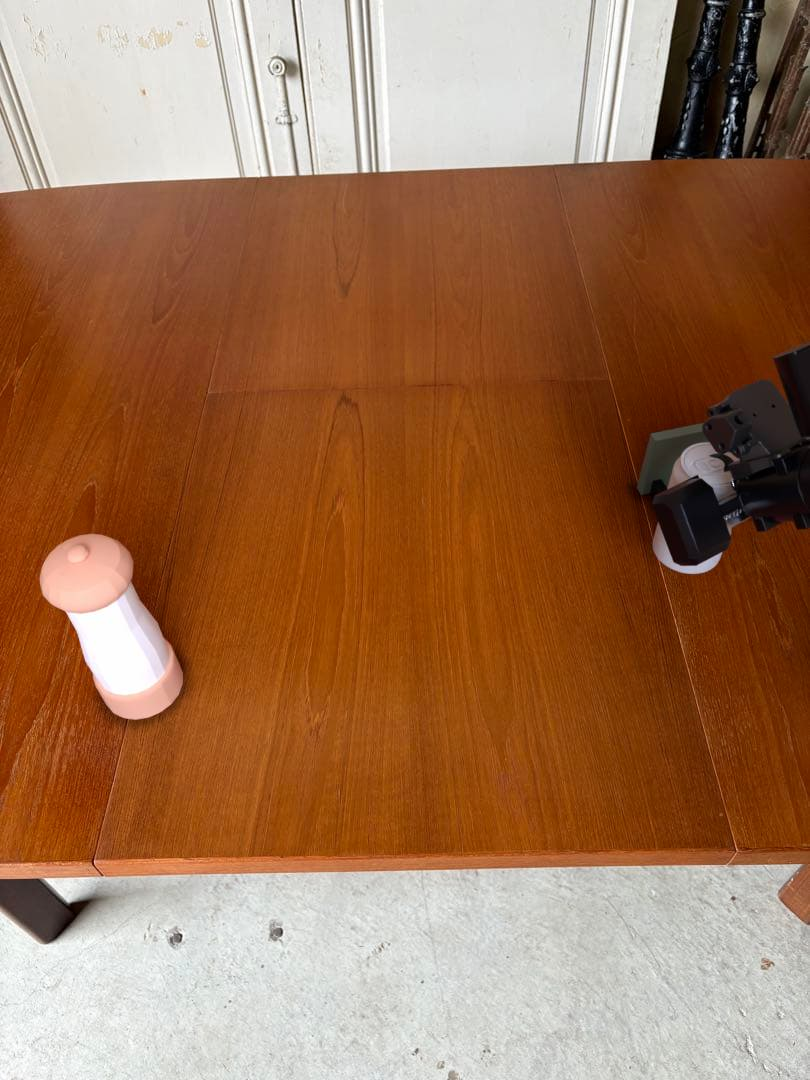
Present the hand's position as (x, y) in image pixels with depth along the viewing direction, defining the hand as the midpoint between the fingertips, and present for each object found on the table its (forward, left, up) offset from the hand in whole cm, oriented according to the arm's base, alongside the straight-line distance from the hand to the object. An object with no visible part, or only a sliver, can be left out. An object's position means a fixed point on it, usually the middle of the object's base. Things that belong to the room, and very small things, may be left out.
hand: (690, 497), depth 75 cm
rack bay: (0, -11, -10) cm, 15 cm away
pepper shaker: (+36, +38, -11) cm, 54 cm away
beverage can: (-1, +1, -7) cm, 7 cm away
